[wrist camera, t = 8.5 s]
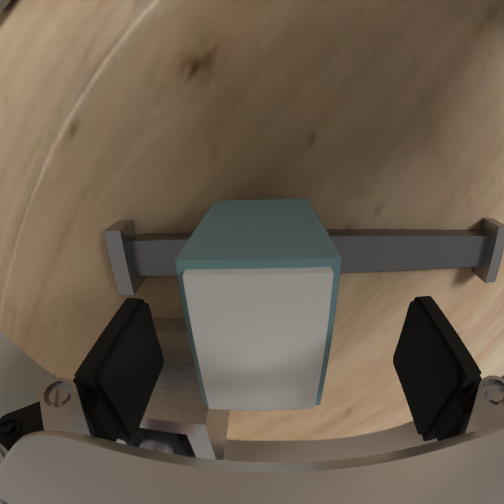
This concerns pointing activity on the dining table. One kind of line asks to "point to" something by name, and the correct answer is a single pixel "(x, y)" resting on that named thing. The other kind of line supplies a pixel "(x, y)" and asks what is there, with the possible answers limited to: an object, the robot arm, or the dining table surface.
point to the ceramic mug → (3, 4)
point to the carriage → (260, 303)
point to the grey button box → (182, 400)
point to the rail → (346, 242)
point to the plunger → (159, 441)
